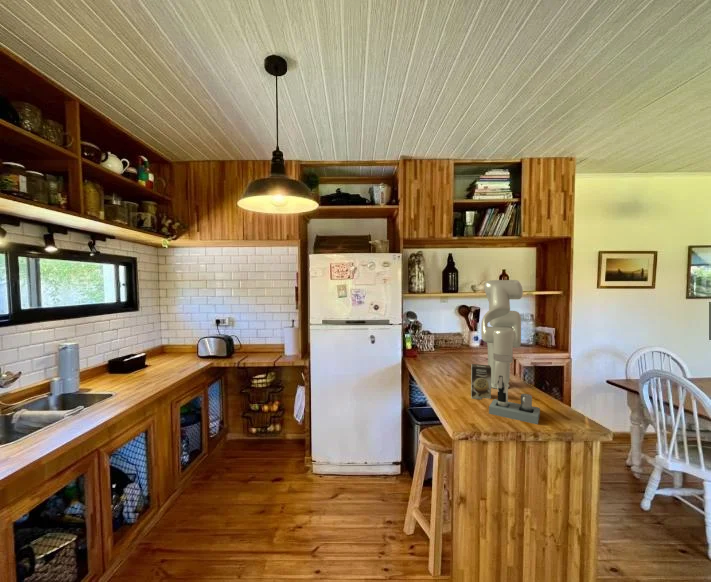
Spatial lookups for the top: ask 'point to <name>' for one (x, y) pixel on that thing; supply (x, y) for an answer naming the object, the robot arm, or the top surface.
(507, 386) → the cream rounded smooth part
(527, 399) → the metal cylinder peg
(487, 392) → the coffee box
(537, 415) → the block
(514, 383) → the top surface
